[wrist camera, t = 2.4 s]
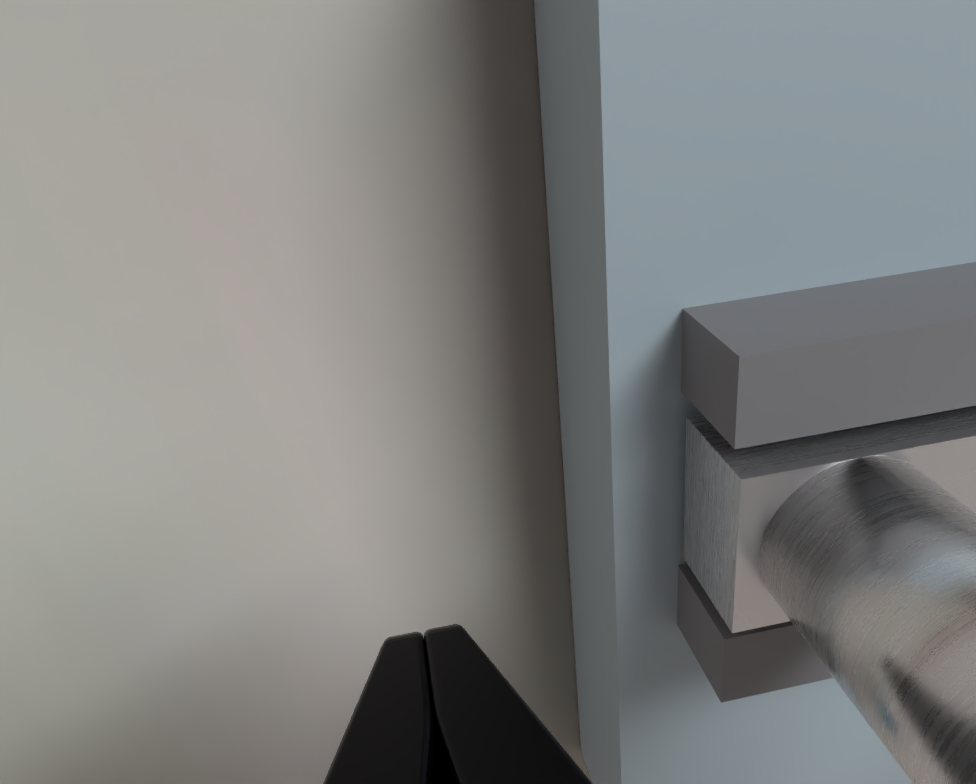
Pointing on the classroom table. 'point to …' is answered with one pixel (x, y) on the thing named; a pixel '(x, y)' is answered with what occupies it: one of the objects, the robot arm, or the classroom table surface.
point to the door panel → (740, 328)
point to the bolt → (855, 567)
